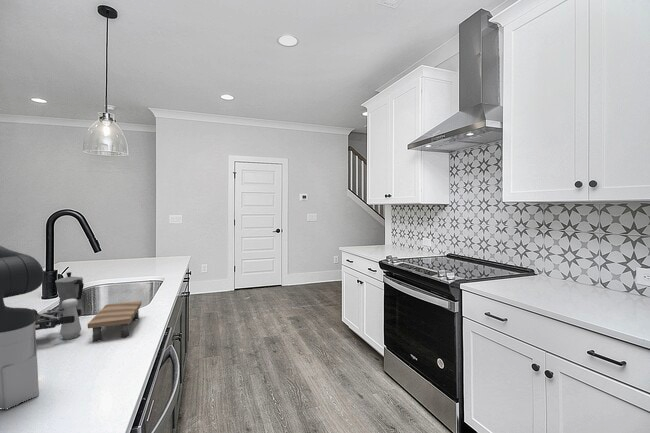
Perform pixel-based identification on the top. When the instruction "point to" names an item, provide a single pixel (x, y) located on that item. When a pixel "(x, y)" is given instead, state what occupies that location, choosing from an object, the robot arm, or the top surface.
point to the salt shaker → (70, 328)
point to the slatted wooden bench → (115, 318)
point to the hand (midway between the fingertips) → (77, 315)
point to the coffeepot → (70, 290)
